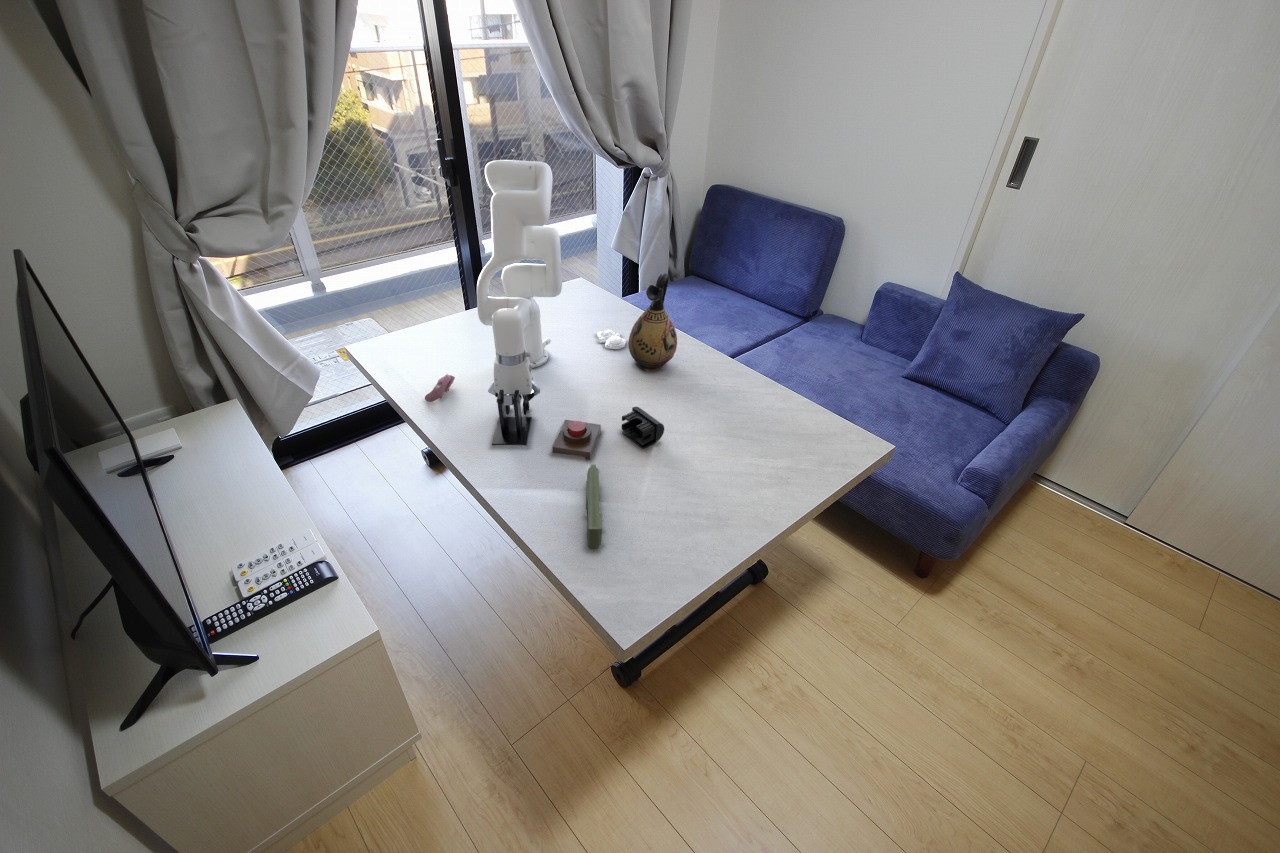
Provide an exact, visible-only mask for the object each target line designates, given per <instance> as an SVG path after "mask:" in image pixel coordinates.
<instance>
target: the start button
mask: <svg viewBox="0 0 1280 853" xmlns="http://www.w3.org/2000/svg"><path fill="white" fill-rule="evenodd" d="M572 421H573V422H571V423H570V424H569V426H568V429H569V434H570V435H572V436H581V435H583V434H584V433H585V424H584V423H583V422H584V421H581V420H572Z"/></svg>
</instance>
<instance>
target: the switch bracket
mask: <svg viewBox="0 0 1280 853" xmlns="http://www.w3.org/2000/svg"><path fill="white" fill-rule="evenodd" d="M496 403H497V410H498V419H497V423H496V426H495V431H494V435H493V437H492V438H493V439H492V441H491V442H492V443H491V445H492V446H527V445H528V440H529V437H530V436H529V435H530V430H531V425H532V420H533V417H532V416H523V415H522V406H521V404H522V399H521V398H520V395H519V390H515V393H514V397H513V405H512V406H513V412H514V416H508V415H507V414H506V406H505V405H504V390H499V394H498V397H496Z"/></svg>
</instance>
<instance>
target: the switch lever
mask: <svg viewBox="0 0 1280 853" xmlns="http://www.w3.org/2000/svg"><path fill="white" fill-rule="evenodd" d="M519 395H520V398H521V400H523V397H522V394H519ZM513 397H514V394H507V395H505V396H504V405H510V406H514V405H513Z"/></svg>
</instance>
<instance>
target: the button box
mask: <svg viewBox="0 0 1280 853" xmlns="http://www.w3.org/2000/svg"><path fill="white" fill-rule="evenodd" d="M573 421H574V420H571V419H570V420H569V419H564V421H563V423H562V425H561V427H560V430H559V432H558V433H557V436H556V438H555V440H554V442H553V444H552V447H551V450H552V453H555V454H561V455H568V456H574V457H582V458H585V460H586V461H592V457H593V454H594V452H595V449H596V447H597V444H598V441H599V438H600V436H601V432H602V431H601V430H602V425H601V424H599V423H593V422H592V423H591V422H584V421H582V422H583V423H584V424H585V433H584V434H583V435H581V436H572V435H570V434H569V429H568V426H569V424H570V423H571V422H573Z"/></svg>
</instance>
